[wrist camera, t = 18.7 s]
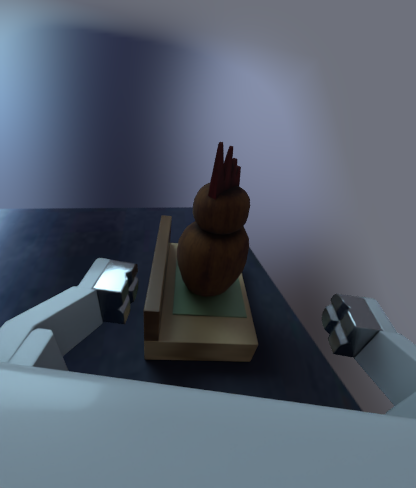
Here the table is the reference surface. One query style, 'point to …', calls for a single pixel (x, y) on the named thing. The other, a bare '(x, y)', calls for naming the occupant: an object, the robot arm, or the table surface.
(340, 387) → the table surface
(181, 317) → the l-shaped display stand
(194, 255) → the wooden figurine
